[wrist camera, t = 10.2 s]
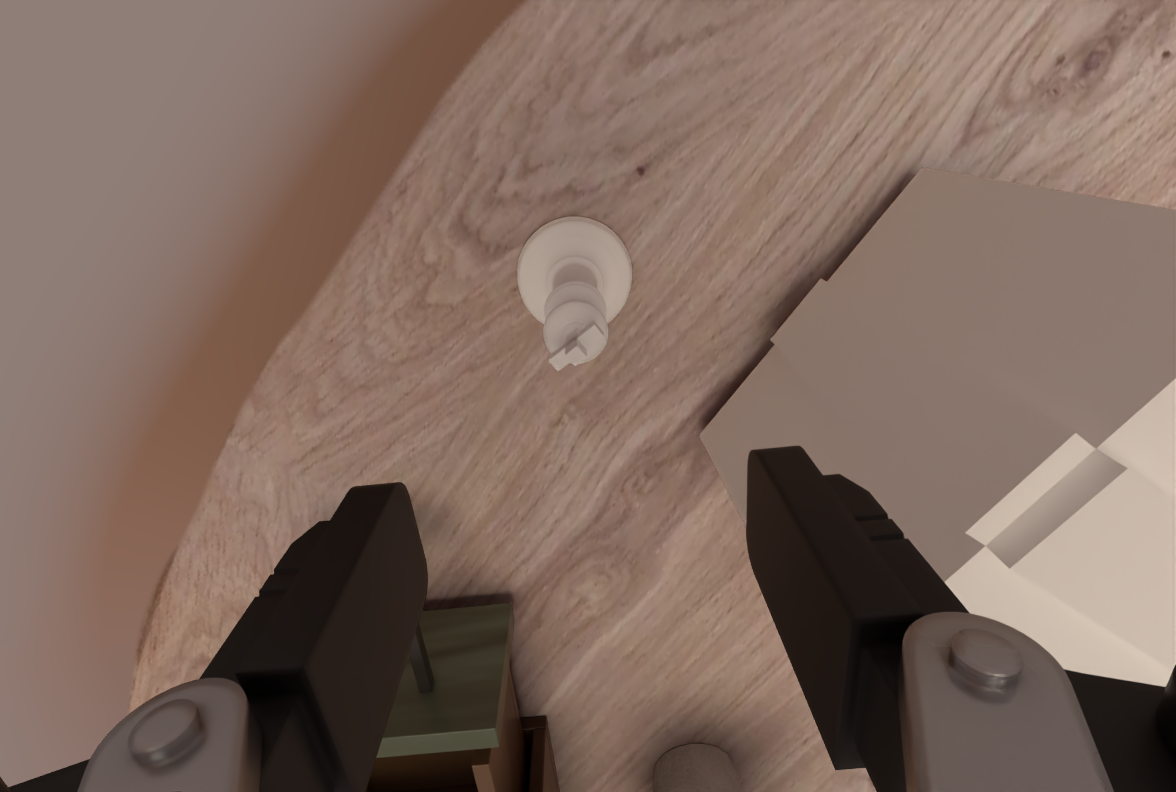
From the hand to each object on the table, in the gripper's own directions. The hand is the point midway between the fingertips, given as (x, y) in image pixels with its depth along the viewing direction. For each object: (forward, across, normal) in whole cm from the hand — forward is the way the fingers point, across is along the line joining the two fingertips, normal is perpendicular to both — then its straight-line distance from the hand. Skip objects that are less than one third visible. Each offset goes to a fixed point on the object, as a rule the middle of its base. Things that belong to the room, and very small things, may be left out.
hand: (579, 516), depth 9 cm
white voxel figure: (+18, -20, +11) cm, 29 cm away
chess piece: (+18, 0, 0) cm, 18 cm away
